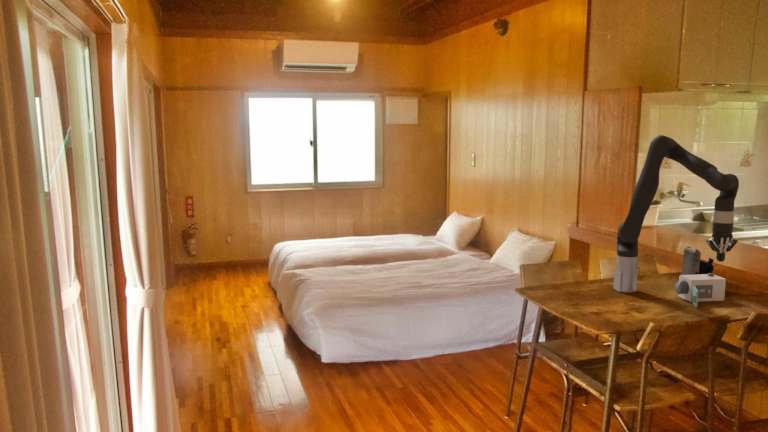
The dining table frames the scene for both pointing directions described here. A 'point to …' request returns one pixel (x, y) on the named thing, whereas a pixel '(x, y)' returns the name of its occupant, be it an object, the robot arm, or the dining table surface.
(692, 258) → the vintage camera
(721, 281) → the camera body
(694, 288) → the side door
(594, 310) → the dining table surface
